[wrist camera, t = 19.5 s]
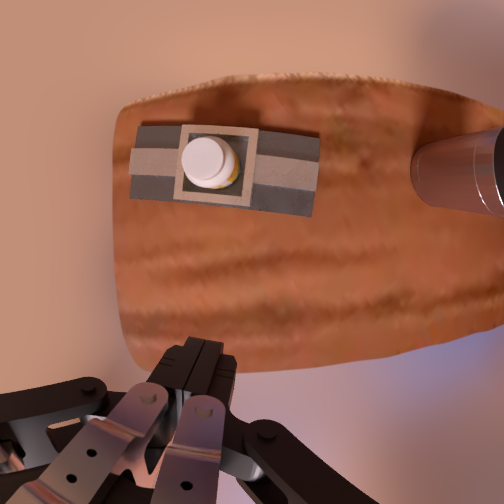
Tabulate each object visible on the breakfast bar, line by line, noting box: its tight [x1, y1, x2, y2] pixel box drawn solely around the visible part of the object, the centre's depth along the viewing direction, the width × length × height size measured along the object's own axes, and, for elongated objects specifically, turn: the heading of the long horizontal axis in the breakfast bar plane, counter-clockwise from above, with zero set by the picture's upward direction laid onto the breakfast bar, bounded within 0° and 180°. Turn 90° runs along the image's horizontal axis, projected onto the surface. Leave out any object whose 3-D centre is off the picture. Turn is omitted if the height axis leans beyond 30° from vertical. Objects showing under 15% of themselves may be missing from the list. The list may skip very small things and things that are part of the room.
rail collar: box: [129, 125, 320, 217], centre depth 33 cm, size 24×10×4 cm, turn 84°
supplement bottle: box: [181, 136, 240, 189], centre depth 29 cm, size 5×5×10 cm
